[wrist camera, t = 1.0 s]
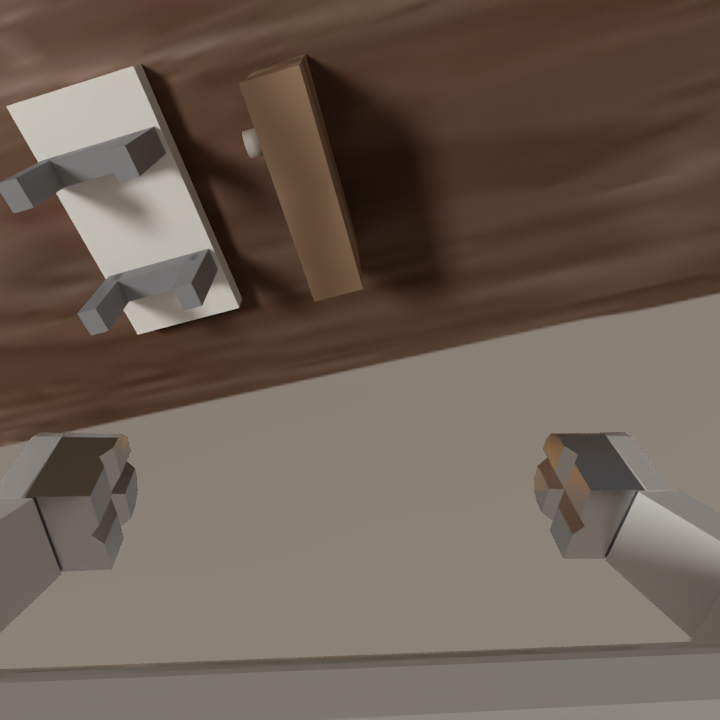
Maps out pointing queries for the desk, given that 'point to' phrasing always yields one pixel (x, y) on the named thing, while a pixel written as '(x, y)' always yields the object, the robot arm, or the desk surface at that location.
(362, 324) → the desk surface
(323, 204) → the door panel
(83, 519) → the robot arm
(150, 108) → the white and grey rack
